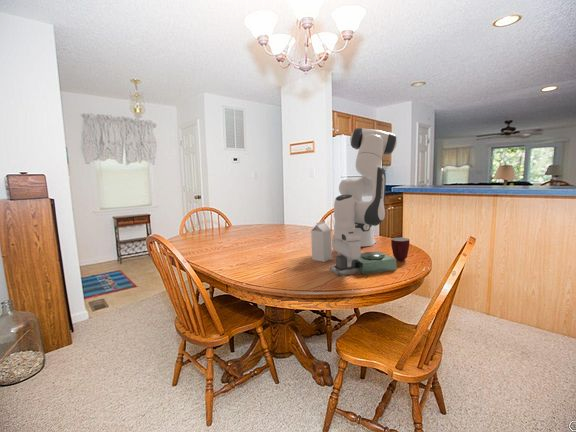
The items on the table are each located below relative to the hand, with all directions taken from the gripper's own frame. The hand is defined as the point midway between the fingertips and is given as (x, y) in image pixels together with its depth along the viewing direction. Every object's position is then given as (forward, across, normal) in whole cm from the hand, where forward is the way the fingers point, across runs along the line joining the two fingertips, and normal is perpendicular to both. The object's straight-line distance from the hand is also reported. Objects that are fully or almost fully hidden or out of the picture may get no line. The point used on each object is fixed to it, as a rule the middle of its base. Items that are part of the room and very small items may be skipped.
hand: (345, 264), depth 131 cm
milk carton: (+3, -21, -3) cm, 21 cm away
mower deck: (+3, 0, +7) cm, 8 cm away
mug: (+3, -4, +30) cm, 31 cm away
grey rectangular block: (+2, 0, 0) cm, 2 cm away
